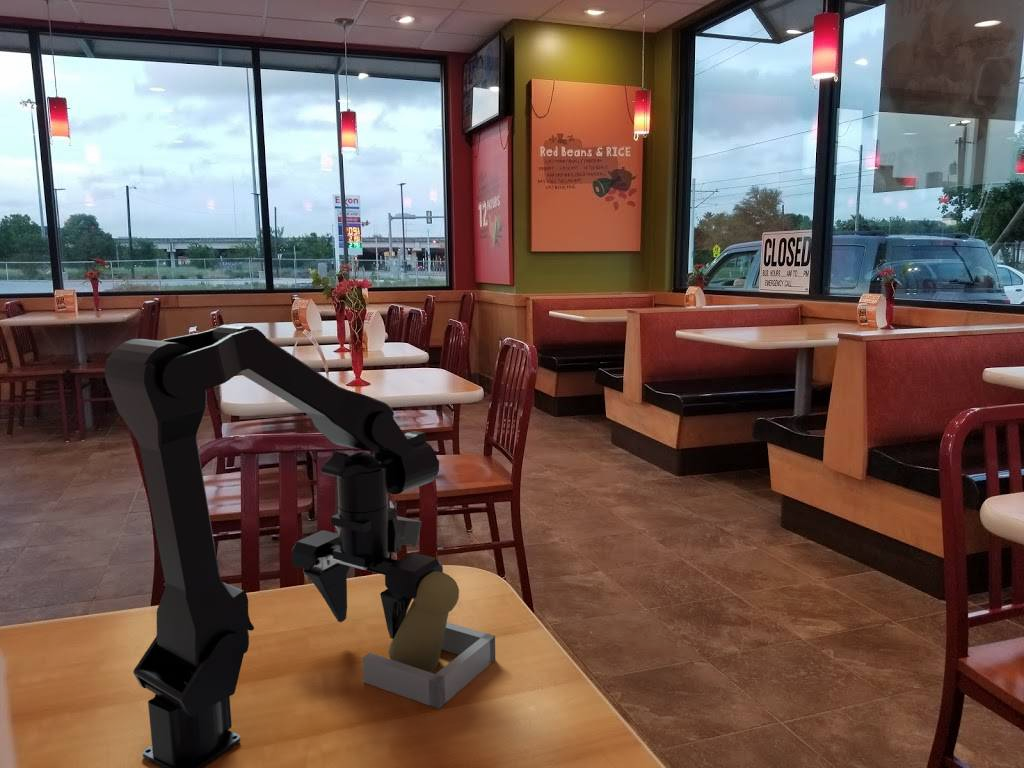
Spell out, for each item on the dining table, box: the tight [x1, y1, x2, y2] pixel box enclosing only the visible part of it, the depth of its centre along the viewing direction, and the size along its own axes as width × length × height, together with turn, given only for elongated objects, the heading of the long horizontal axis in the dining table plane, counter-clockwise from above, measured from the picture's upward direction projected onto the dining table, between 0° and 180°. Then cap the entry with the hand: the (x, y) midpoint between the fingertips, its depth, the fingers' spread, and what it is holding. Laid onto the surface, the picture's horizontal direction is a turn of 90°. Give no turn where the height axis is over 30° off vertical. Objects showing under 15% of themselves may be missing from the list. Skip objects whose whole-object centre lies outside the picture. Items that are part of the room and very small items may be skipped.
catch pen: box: [362, 621, 496, 710], centre depth 88 cm, size 11×10×3 cm
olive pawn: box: [388, 571, 460, 673], centre depth 88 cm, size 6×6×11 cm
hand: (367, 628), depth 93 cm, fingers open, 8 cm apart
